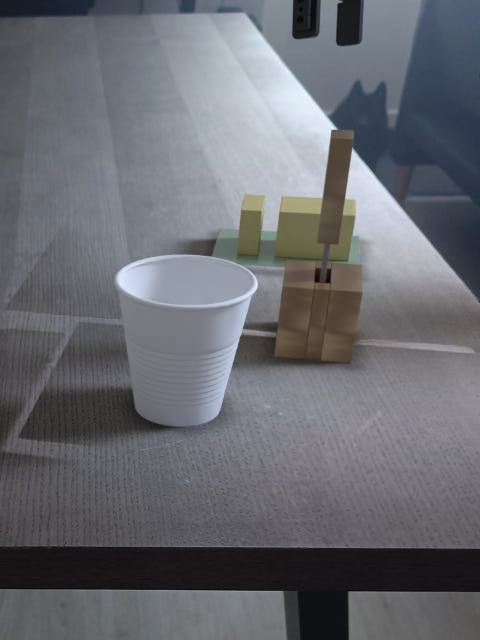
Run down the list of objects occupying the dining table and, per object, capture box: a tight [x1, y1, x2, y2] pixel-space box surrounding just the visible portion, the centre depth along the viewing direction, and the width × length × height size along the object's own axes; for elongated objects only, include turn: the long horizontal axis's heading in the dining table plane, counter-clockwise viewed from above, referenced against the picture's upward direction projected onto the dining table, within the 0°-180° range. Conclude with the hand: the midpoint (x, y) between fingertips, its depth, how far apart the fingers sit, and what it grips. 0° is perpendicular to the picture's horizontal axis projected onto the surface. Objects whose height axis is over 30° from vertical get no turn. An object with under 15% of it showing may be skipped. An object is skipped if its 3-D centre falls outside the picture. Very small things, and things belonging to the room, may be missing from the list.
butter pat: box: [237, 194, 266, 255], centre depth 103 cm, size 2×5×4 cm, turn 164°
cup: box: [113, 254, 259, 428], centre depth 75 cm, size 10×10×11 cm
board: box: [211, 228, 361, 268], centre depth 104 cm, size 14×10×2 cm
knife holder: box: [273, 260, 364, 364], centre depth 84 cm, size 6×6×7 cm
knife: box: [317, 129, 355, 283], centre depth 81 cm, size 2×3×17 cm, turn 164°
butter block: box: [274, 195, 357, 261], centre depth 101 cm, size 7×5×4 cm
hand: (327, 42), depth 92 cm, fingers open, 8 cm apart
